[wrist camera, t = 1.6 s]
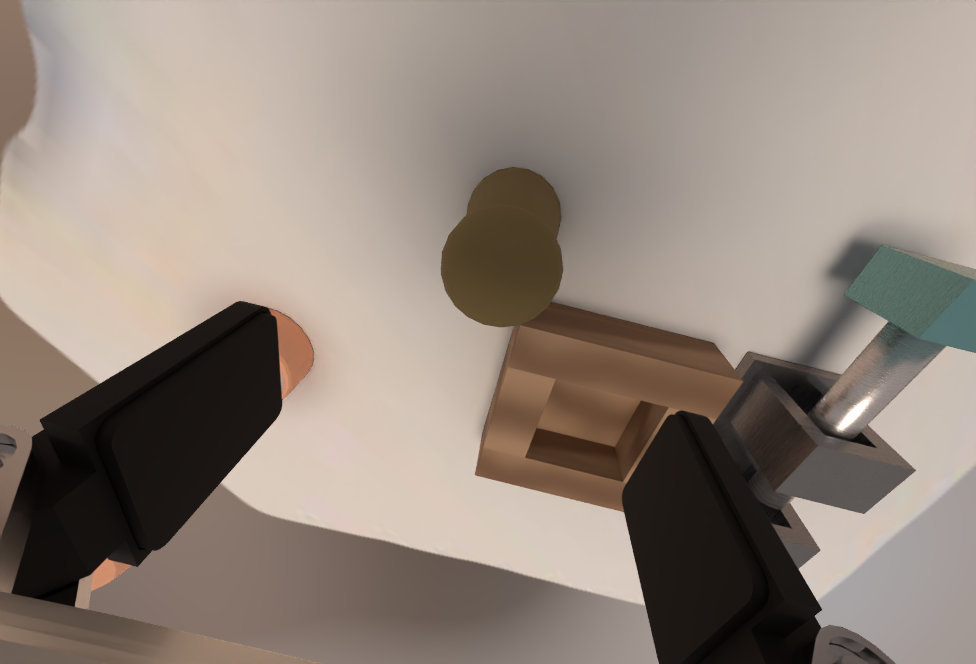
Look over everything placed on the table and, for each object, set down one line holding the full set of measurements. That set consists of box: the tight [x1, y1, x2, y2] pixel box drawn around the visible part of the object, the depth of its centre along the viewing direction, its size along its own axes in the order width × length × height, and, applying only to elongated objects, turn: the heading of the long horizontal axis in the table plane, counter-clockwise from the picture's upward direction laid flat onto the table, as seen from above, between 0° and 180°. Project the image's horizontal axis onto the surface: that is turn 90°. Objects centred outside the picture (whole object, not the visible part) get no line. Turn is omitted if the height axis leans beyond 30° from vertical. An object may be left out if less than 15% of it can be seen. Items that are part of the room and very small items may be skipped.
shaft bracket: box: [713, 352, 916, 569], centre depth 28 cm, size 16×7×8 cm, turn 167°
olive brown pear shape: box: [441, 167, 563, 327], centre depth 20 cm, size 6×6×11 cm
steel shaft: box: [748, 245, 976, 510], centre depth 23 cm, size 17×5×5 cm, turn 167°
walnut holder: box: [475, 302, 743, 512], centre depth 29 cm, size 14×14×4 cm
